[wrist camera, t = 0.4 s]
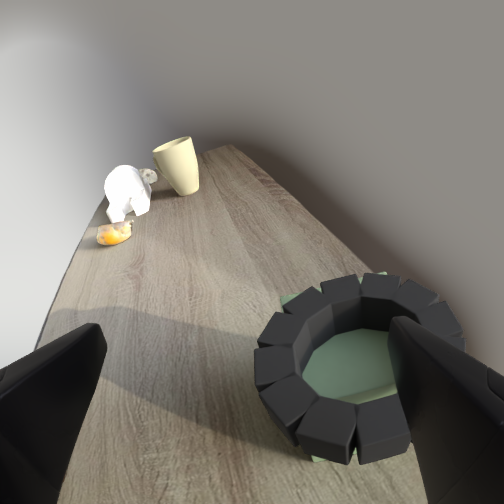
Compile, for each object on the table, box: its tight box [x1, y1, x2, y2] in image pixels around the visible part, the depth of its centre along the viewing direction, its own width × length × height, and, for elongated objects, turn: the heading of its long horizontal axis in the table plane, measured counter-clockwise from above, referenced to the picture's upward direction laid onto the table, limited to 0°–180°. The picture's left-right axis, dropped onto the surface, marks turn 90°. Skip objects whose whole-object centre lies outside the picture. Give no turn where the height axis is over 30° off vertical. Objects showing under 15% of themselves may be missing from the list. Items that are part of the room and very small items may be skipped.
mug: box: [153, 136, 199, 196], centre depth 70 cm, size 11×10×12 cm
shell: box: [97, 220, 133, 245], centre depth 59 cm, size 8×4×5 cm, turn 113°
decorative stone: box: [138, 169, 158, 185], centre depth 92 cm, size 12×11×5 cm
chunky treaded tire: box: [254, 273, 466, 465], centre depth 13 cm, size 9×9×2 cm
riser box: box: [280, 272, 397, 462], centre depth 18 cm, size 8×7×9 cm
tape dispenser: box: [105, 165, 151, 223], centre depth 74 cm, size 10×18×11 cm, turn 15°
